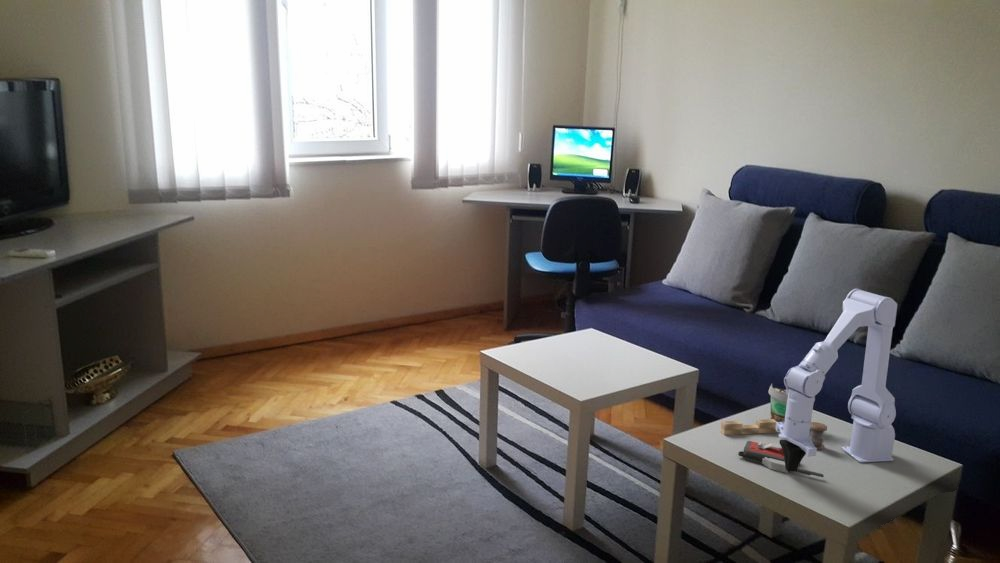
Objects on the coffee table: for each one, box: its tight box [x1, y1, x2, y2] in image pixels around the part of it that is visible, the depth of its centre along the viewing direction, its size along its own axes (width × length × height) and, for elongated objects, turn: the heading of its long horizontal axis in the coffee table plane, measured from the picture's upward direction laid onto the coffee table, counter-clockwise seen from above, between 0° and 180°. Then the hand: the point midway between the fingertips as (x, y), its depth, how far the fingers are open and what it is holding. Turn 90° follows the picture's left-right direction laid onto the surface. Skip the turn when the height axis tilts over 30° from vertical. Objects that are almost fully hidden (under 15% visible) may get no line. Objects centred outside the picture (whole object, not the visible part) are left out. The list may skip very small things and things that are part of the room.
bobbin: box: [809, 421, 828, 451], centre depth 198 cm, size 4×4×6 cm
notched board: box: [719, 418, 777, 436], centre depth 206 cm, size 15×2×3 cm, turn 100°
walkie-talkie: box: [738, 440, 824, 478], centre depth 188 cm, size 9×4×20 cm
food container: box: [768, 383, 816, 422], centre depth 210 cm, size 12×6×10 cm, turn 55°
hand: (791, 470), depth 183 cm, fingers closed
